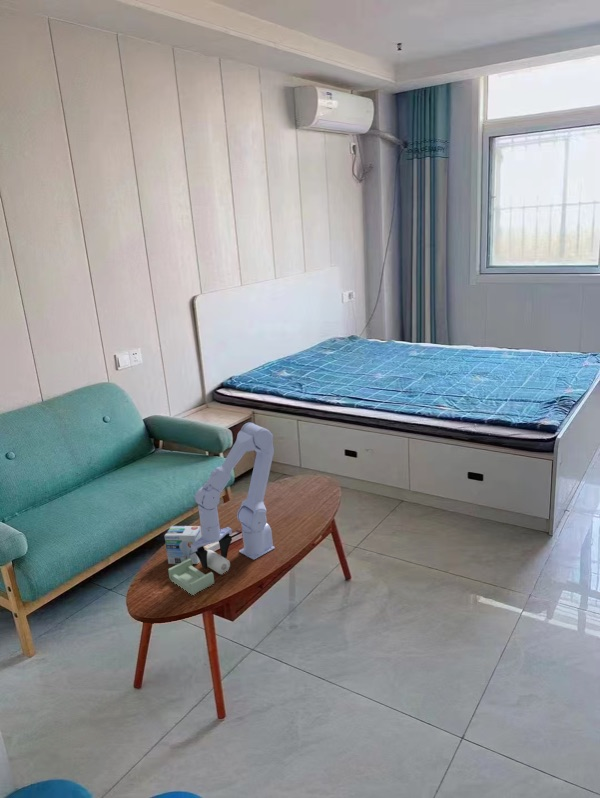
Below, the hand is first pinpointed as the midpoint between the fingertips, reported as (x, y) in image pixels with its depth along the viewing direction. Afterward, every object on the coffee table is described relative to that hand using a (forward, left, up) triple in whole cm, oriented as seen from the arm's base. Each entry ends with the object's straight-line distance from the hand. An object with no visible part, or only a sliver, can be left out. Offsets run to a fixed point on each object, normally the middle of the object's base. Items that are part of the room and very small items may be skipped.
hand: (214, 562), depth 189 cm
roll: (0, 0, 0) cm, 0 cm away
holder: (+9, +1, -2) cm, 10 cm away
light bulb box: (+3, -12, -3) cm, 13 cm away
